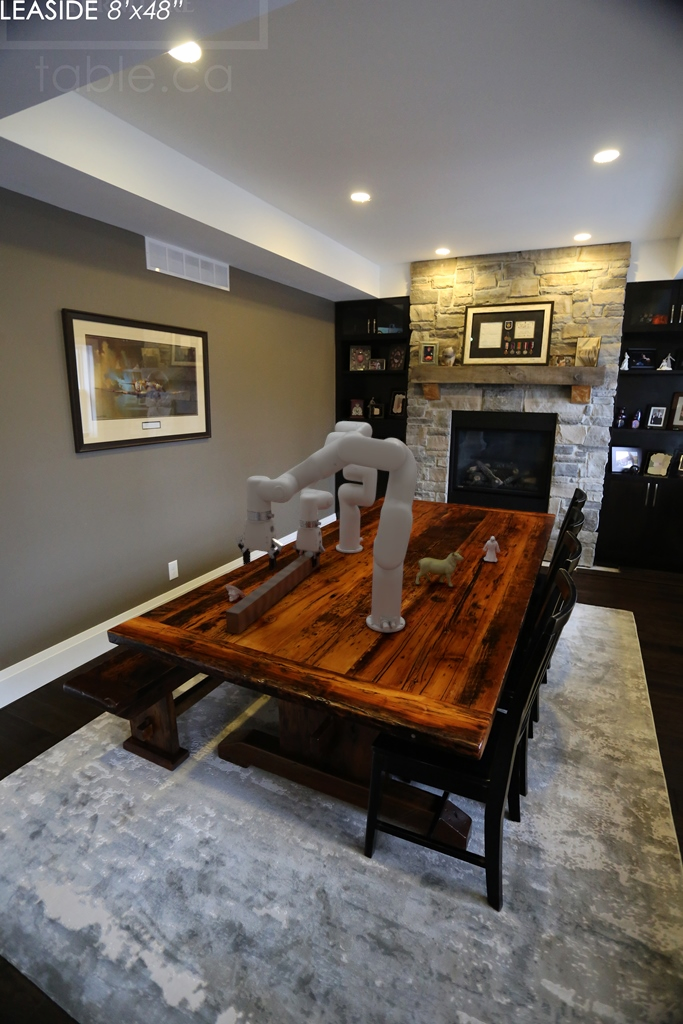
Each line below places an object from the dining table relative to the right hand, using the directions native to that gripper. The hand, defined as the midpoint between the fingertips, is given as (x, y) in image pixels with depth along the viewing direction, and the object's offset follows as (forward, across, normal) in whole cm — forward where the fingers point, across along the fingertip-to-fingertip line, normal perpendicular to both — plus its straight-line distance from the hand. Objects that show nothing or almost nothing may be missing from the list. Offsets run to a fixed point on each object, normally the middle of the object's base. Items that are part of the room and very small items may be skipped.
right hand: (259, 566), depth 162 cm
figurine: (+16, -63, -92) cm, 113 cm away
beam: (+18, +4, -20) cm, 27 cm away
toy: (+17, -48, -53) cm, 73 cm away
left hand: (+16, +5, -46) cm, 49 cm away
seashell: (+18, +15, -8) cm, 25 cm away
